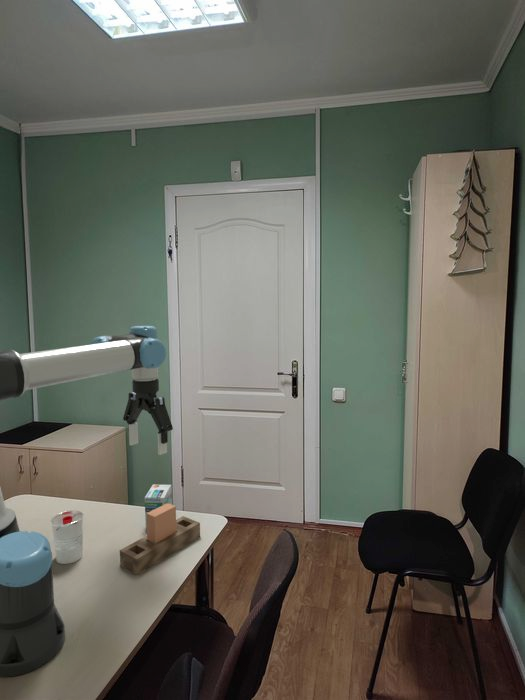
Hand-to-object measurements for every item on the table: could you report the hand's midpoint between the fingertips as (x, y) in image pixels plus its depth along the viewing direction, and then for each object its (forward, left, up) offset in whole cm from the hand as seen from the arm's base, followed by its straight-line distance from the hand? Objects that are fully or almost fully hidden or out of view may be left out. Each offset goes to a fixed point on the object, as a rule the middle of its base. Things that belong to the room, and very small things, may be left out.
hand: (147, 448), depth 133 cm
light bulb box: (+10, +7, -29) cm, 32 cm away
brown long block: (-1, -7, -29) cm, 30 cm away
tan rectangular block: (-1, -7, -29) cm, 29 cm away
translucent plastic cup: (-19, +12, -29) cm, 37 cm away
